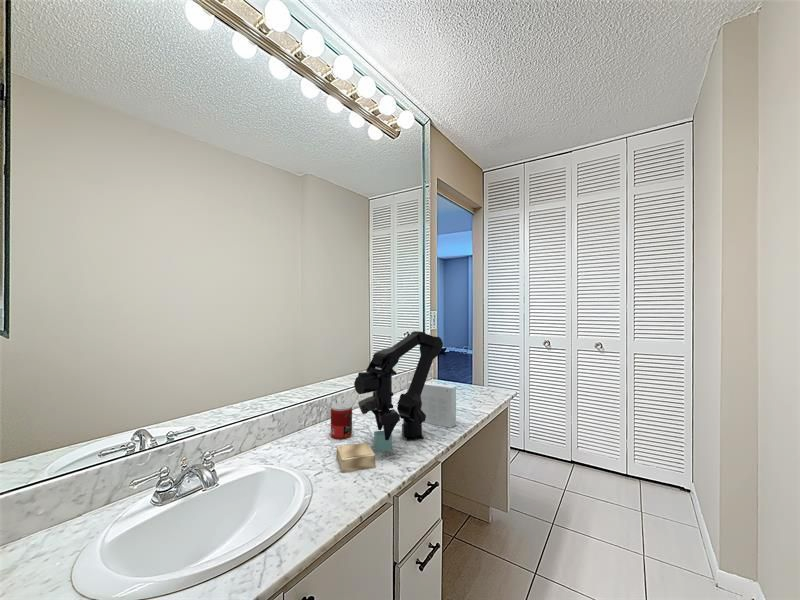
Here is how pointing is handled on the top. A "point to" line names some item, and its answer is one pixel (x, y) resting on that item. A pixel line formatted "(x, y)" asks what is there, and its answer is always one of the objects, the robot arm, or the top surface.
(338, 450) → the bamboo box
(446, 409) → the skincare box
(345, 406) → the canned food
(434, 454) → the top surface
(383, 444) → the teal cube
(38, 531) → the top surface
